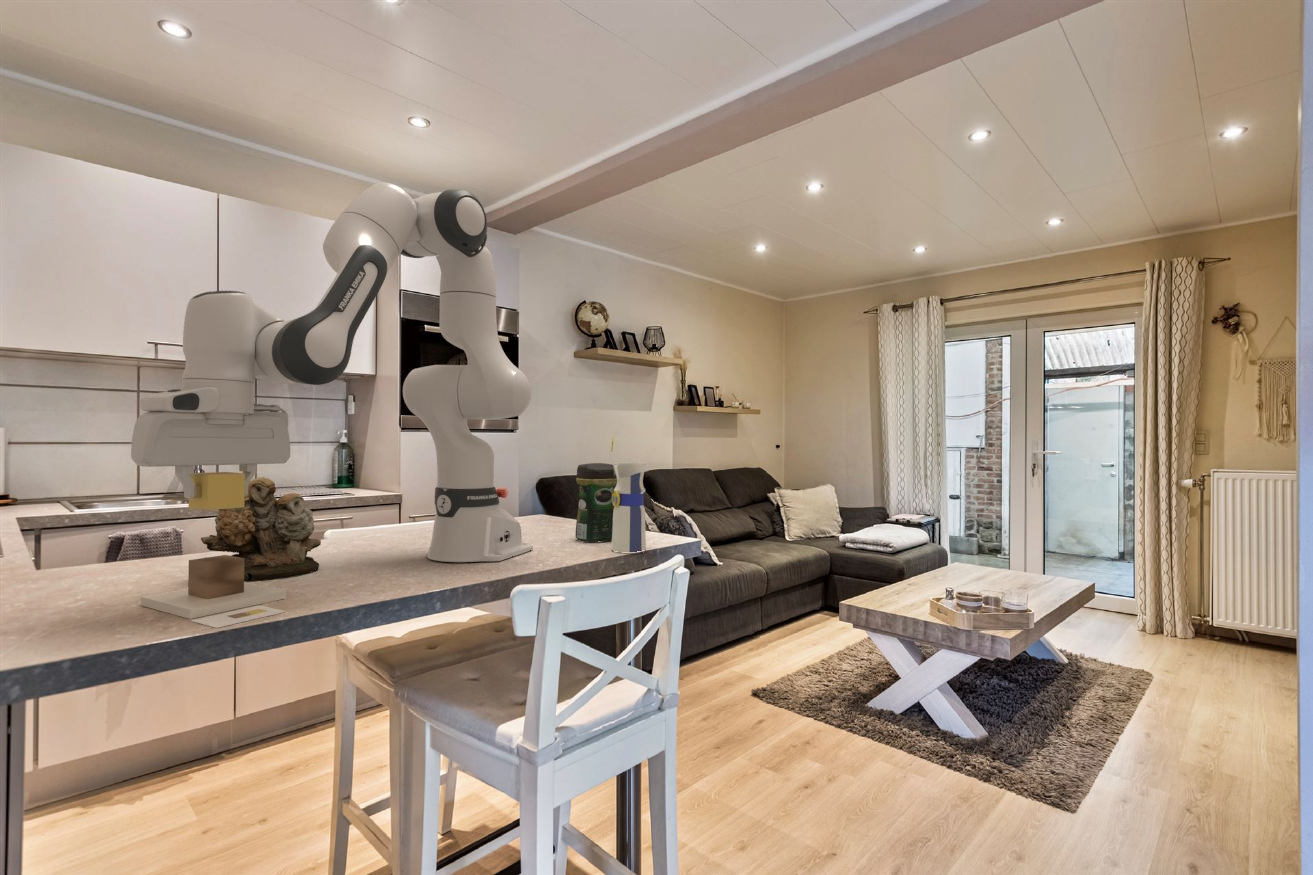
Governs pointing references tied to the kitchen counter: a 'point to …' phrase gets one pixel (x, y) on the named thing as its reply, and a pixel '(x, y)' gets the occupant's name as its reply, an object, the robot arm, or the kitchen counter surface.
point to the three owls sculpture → (267, 533)
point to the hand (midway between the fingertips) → (216, 496)
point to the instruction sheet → (237, 616)
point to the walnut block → (216, 576)
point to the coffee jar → (595, 502)
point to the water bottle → (629, 507)
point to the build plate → (211, 601)
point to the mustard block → (219, 490)
